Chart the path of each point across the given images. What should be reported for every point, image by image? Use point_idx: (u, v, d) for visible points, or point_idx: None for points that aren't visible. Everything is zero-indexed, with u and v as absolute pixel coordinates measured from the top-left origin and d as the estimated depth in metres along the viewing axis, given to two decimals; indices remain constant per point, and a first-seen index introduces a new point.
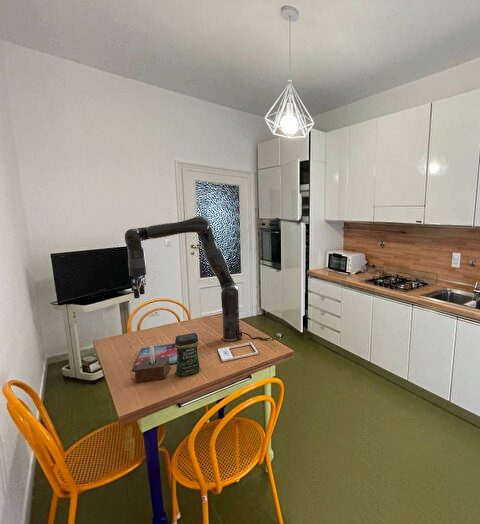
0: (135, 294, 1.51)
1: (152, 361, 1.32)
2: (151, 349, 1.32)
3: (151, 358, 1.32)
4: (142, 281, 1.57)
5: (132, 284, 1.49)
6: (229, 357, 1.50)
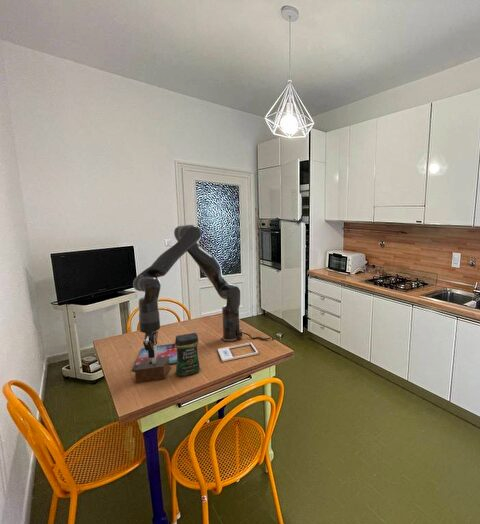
0: (150, 353, 1.30)
1: (153, 361, 1.33)
2: (154, 349, 1.32)
3: (153, 358, 1.32)
4: (154, 336, 1.33)
5: (145, 346, 1.27)
6: (229, 357, 1.50)
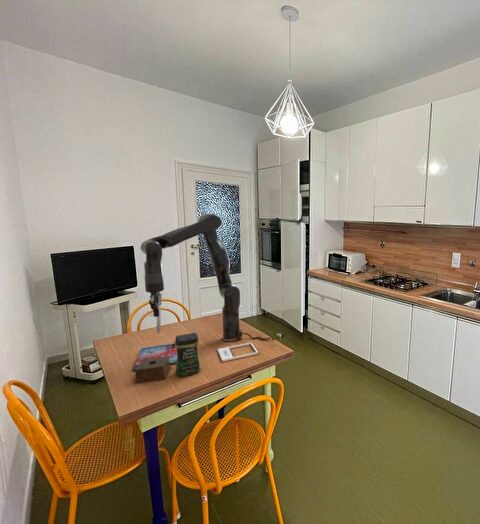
0: (155, 312, 1.42)
1: (158, 320, 1.44)
2: None
3: (157, 317, 1.44)
4: None
5: (151, 304, 1.38)
6: (229, 357, 1.50)
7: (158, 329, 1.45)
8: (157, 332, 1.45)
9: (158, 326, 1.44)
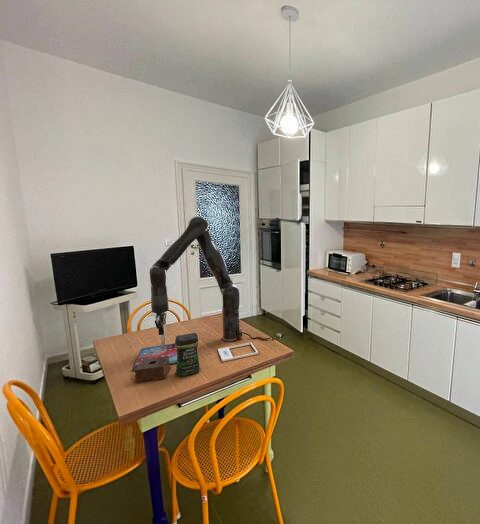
0: (160, 331, 1.54)
1: (163, 338, 1.56)
2: None
3: (162, 335, 1.56)
4: None
5: (156, 324, 1.50)
6: (229, 357, 1.50)
7: (162, 346, 1.56)
8: (162, 349, 1.56)
9: (163, 343, 1.56)
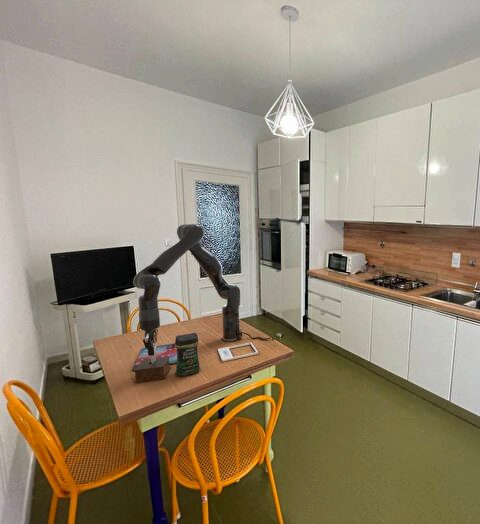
0: (149, 351, 1.30)
1: (153, 359, 1.32)
2: None
3: (152, 356, 1.32)
4: (154, 334, 1.32)
5: (145, 344, 1.26)
6: (229, 357, 1.50)
7: None
8: None
9: None
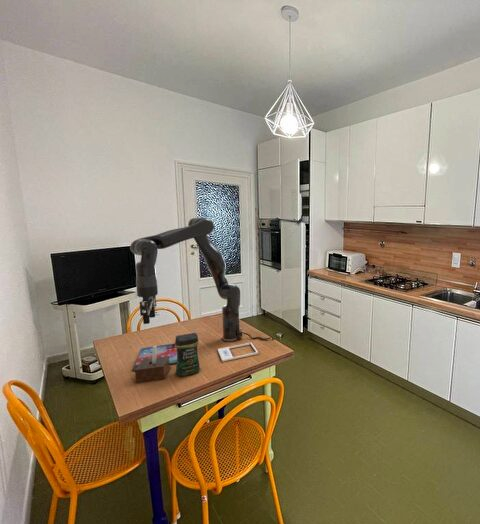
0: (144, 319, 1.25)
1: (153, 361, 1.33)
2: (154, 349, 1.32)
3: (153, 358, 1.32)
4: (152, 302, 1.31)
5: (141, 307, 1.22)
6: (229, 357, 1.50)
7: None
8: None
9: None
